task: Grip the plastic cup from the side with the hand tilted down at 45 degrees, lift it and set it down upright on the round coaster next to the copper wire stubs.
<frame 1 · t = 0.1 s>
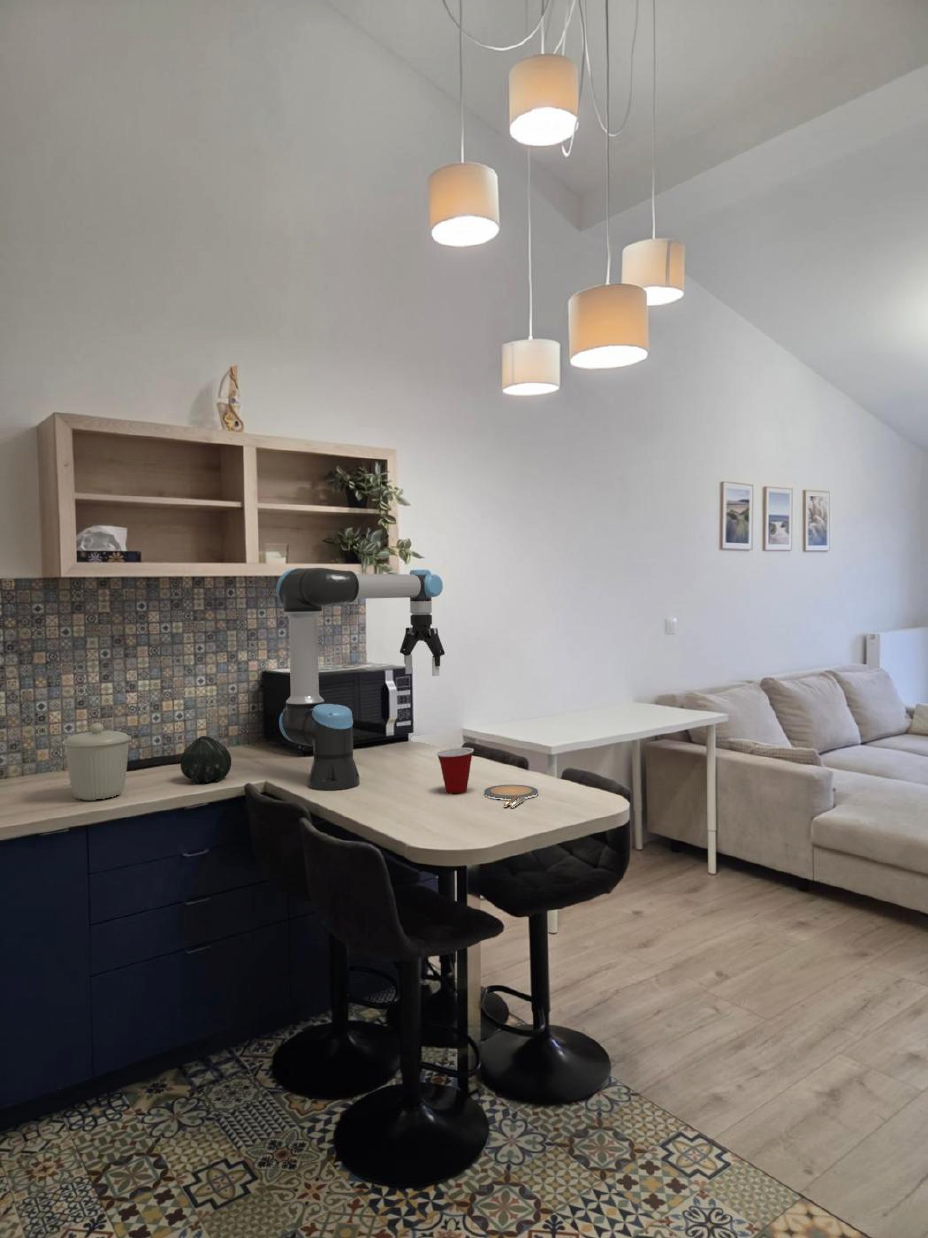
hand: (422, 674, 296), 28 cm above the kitchen counter, tool pointing down, fingers open, 13 cm apart
coaster: (511, 794, 237), on the kitchen counter
squash: (206, 781, 261), on the kitchen counter
plastic cup: (455, 792, 241), on the kitchen counter
canister: (98, 797, 242), on the kitchen counter
wire stubs: (514, 804, 226), on the kitchen counter
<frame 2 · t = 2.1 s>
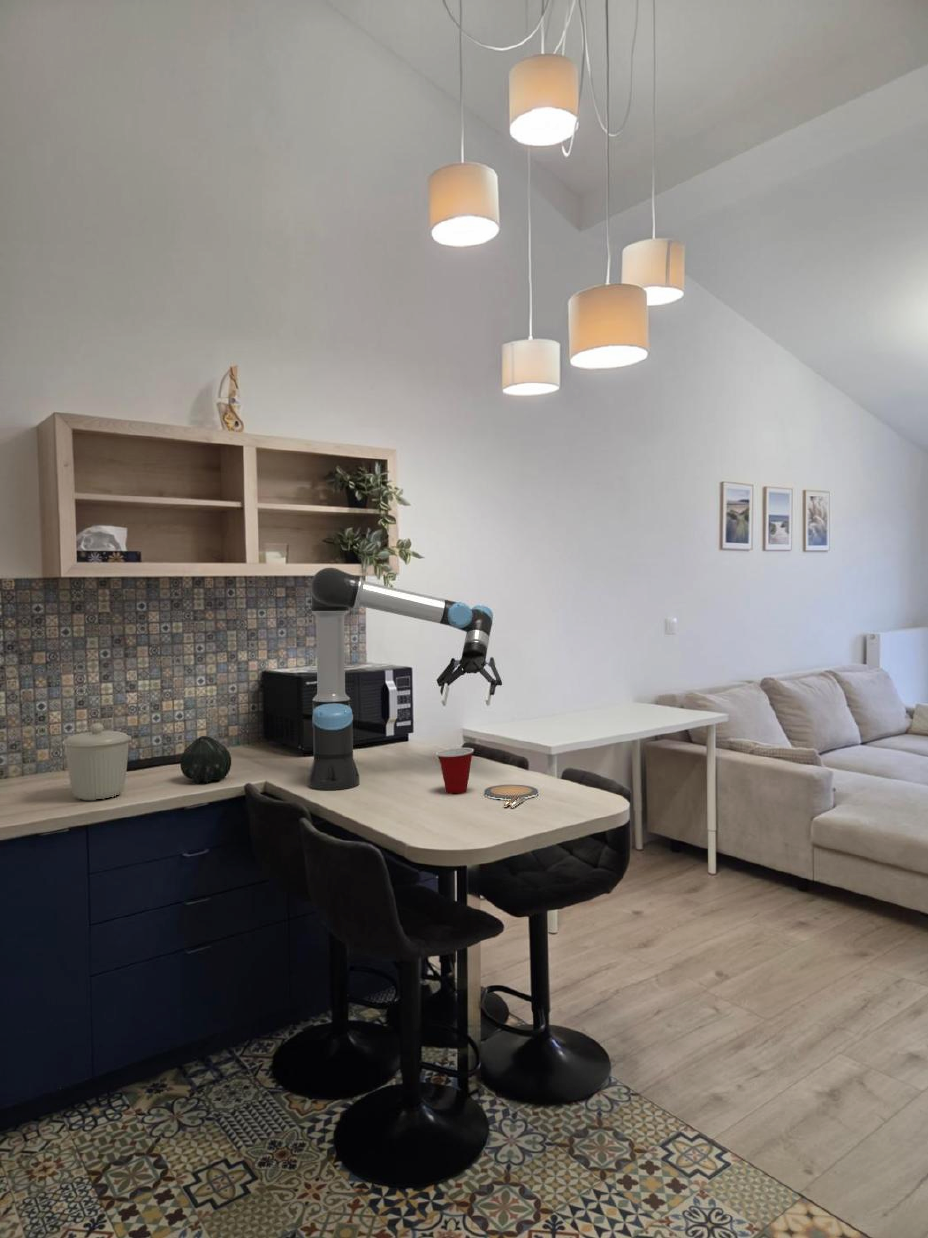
hand: (465, 703, 253), 24 cm above the kitchen counter, tool tilted 45°, fingers open, 13 cm apart
nothing on the kitchen counter moved.
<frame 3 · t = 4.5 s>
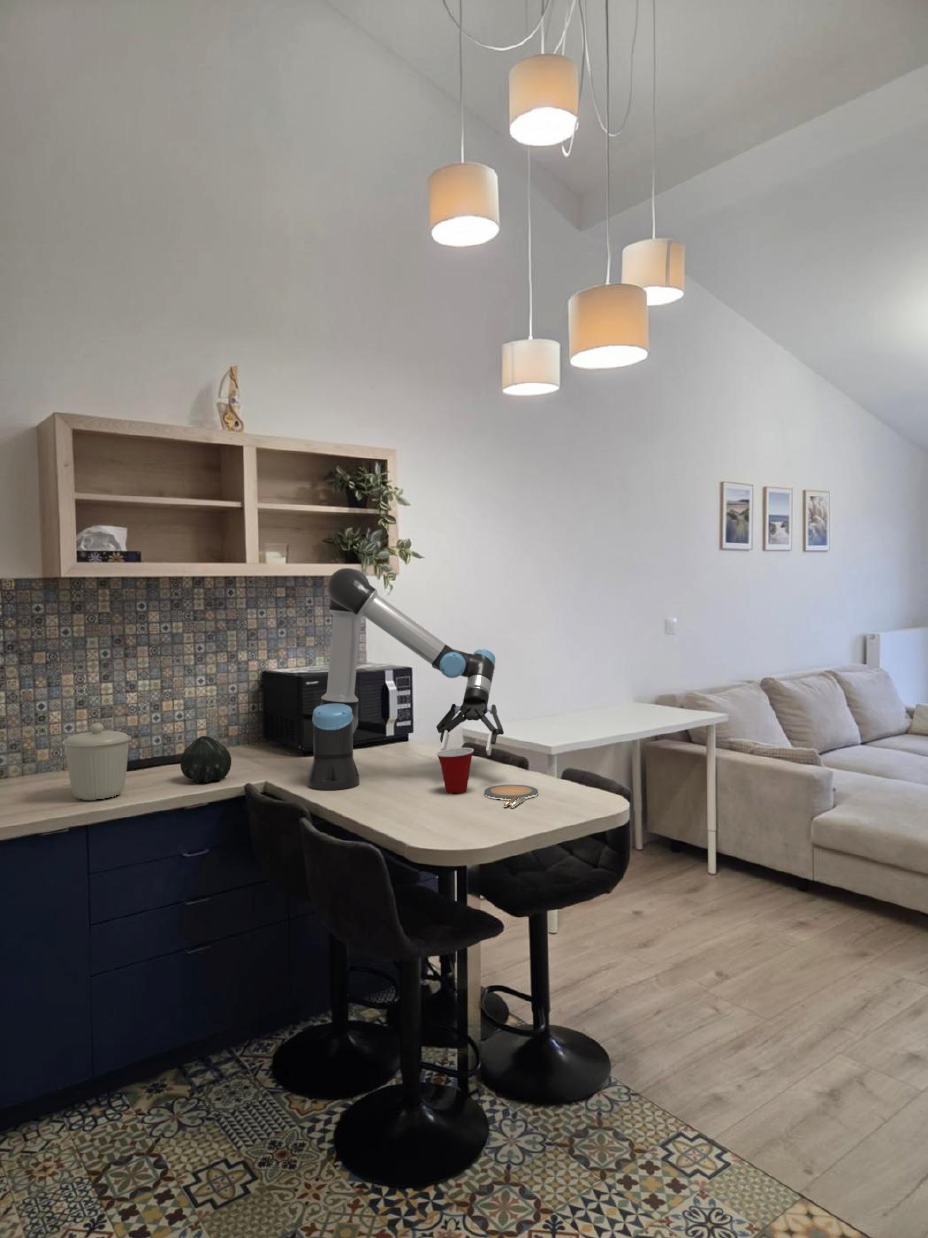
hand: (465, 752, 247), 10 cm above the kitchen counter, tool tilted 45°, fingers open, 13 cm apart
nothing on the kitchen counter moved.
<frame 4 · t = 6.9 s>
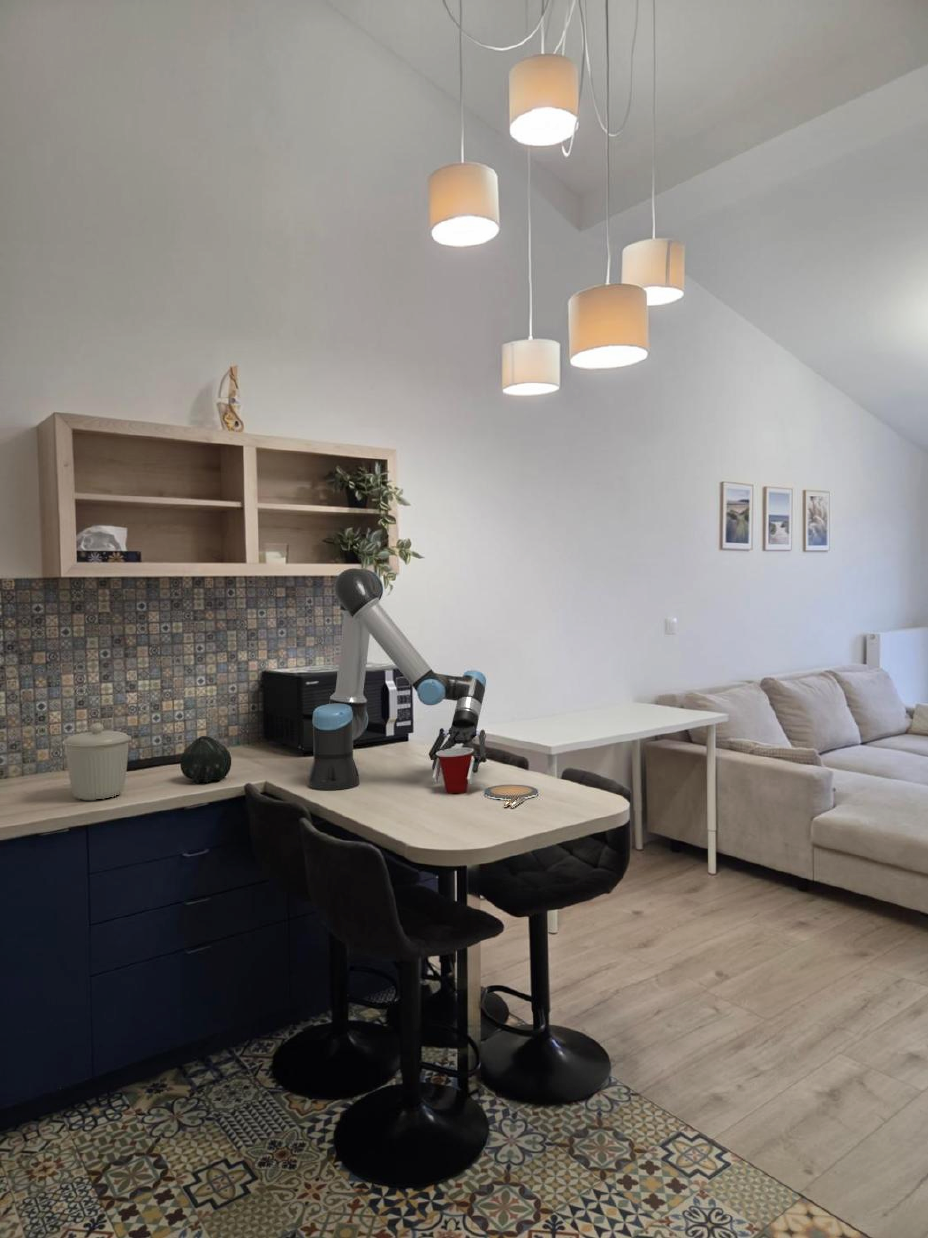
hand: (452, 780, 238), 4 cm above the kitchen counter, tool tilted 45°, fingers closed on plastic cup, 9 cm apart
plastic cup: (455, 792, 241), on the kitchen counter, touching gripper
everything else where it was.
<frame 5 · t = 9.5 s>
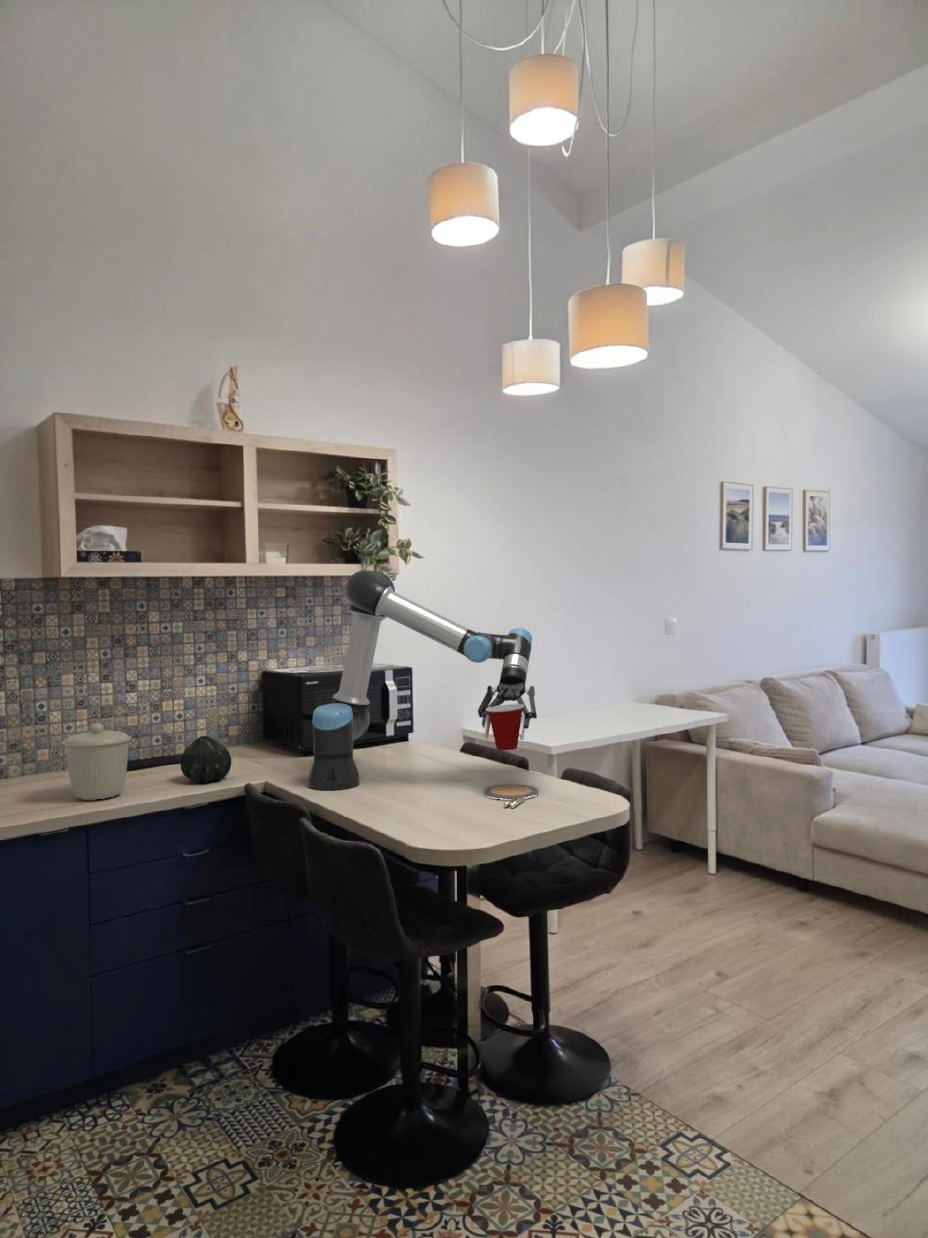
hand: (503, 736, 234), 17 cm above the kitchen counter, tool tilted 45°, fingers closed on plastic cup, 9 cm apart
plastic cup: (505, 749, 237), point 13 cm above the kitchen counter, touching gripper
everything else where it was.
when the fingers open (5 cm above the kitchen counter, at t = 12.2 s): plastic cup stays where it is, resting on coaster.
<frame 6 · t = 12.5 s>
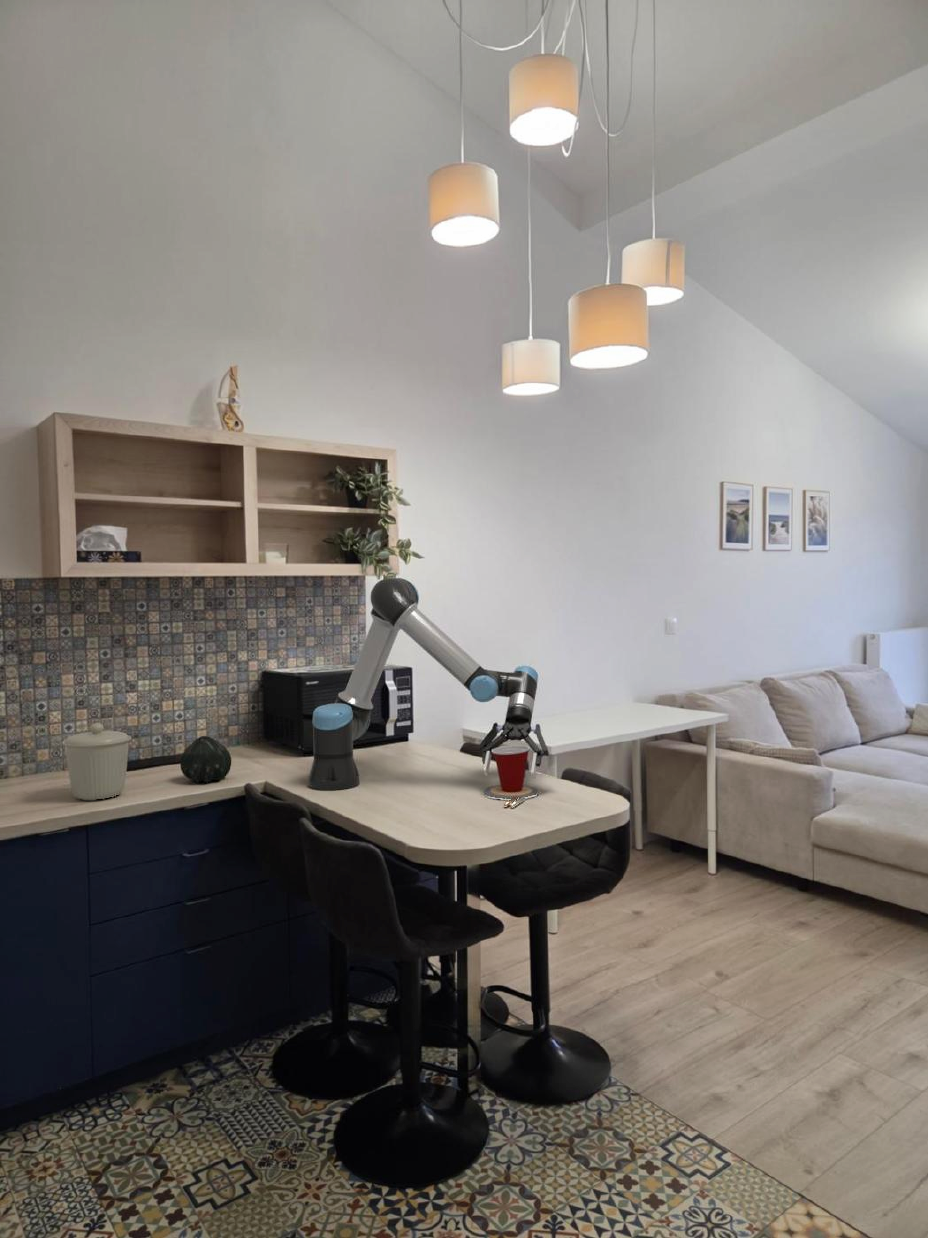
hand: (508, 774, 235), 6 cm above the kitchen counter, tool tilted 45°, fingers open, 13 cm apart
plastic cup: (511, 790, 237), point 1 cm above the kitchen counter, touching coaster
everything else where it was.
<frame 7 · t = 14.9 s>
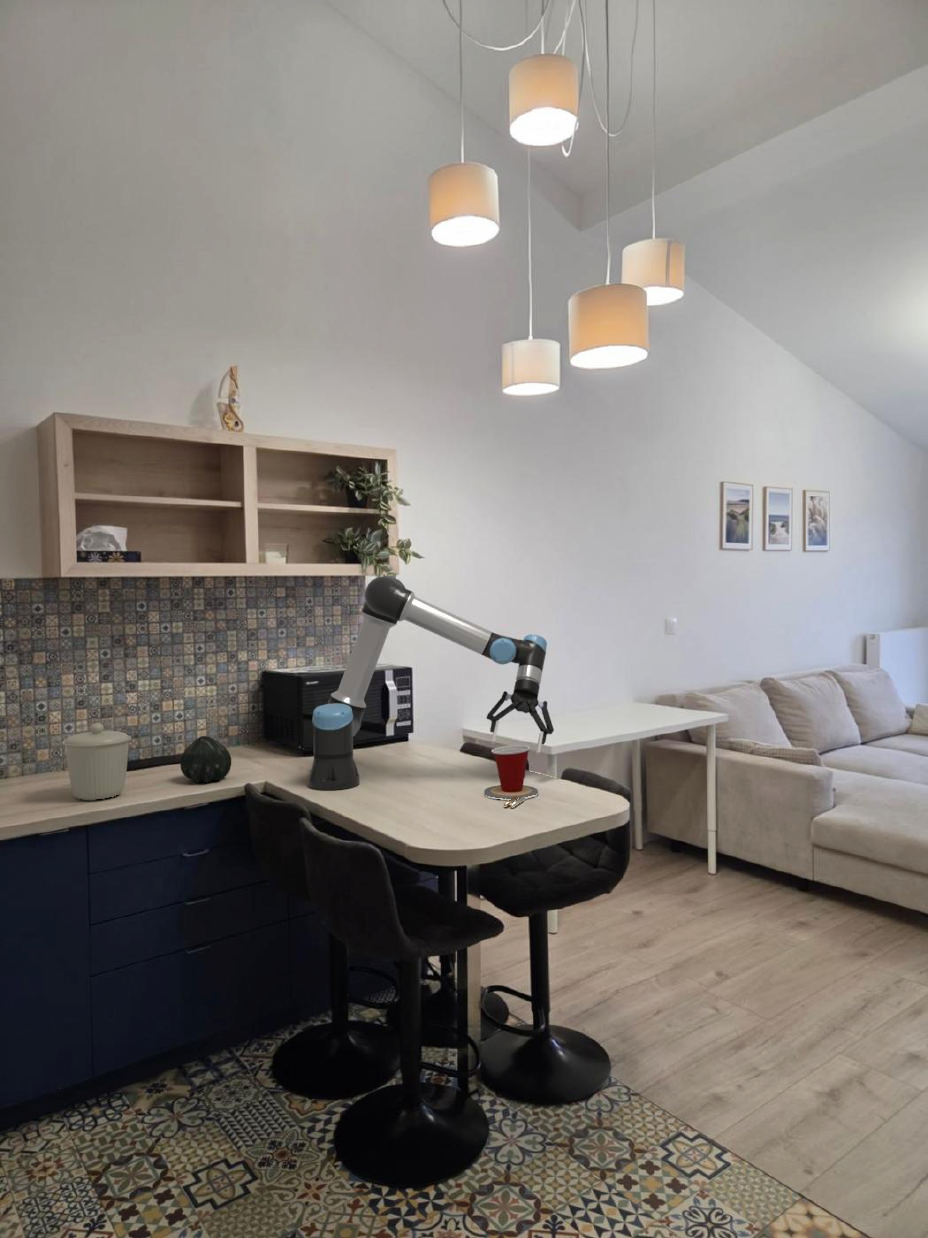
hand: (515, 748, 250), 11 cm above the kitchen counter, tool tilted 30°, fingers open, 13 cm apart
nothing on the kitchen counter moved.
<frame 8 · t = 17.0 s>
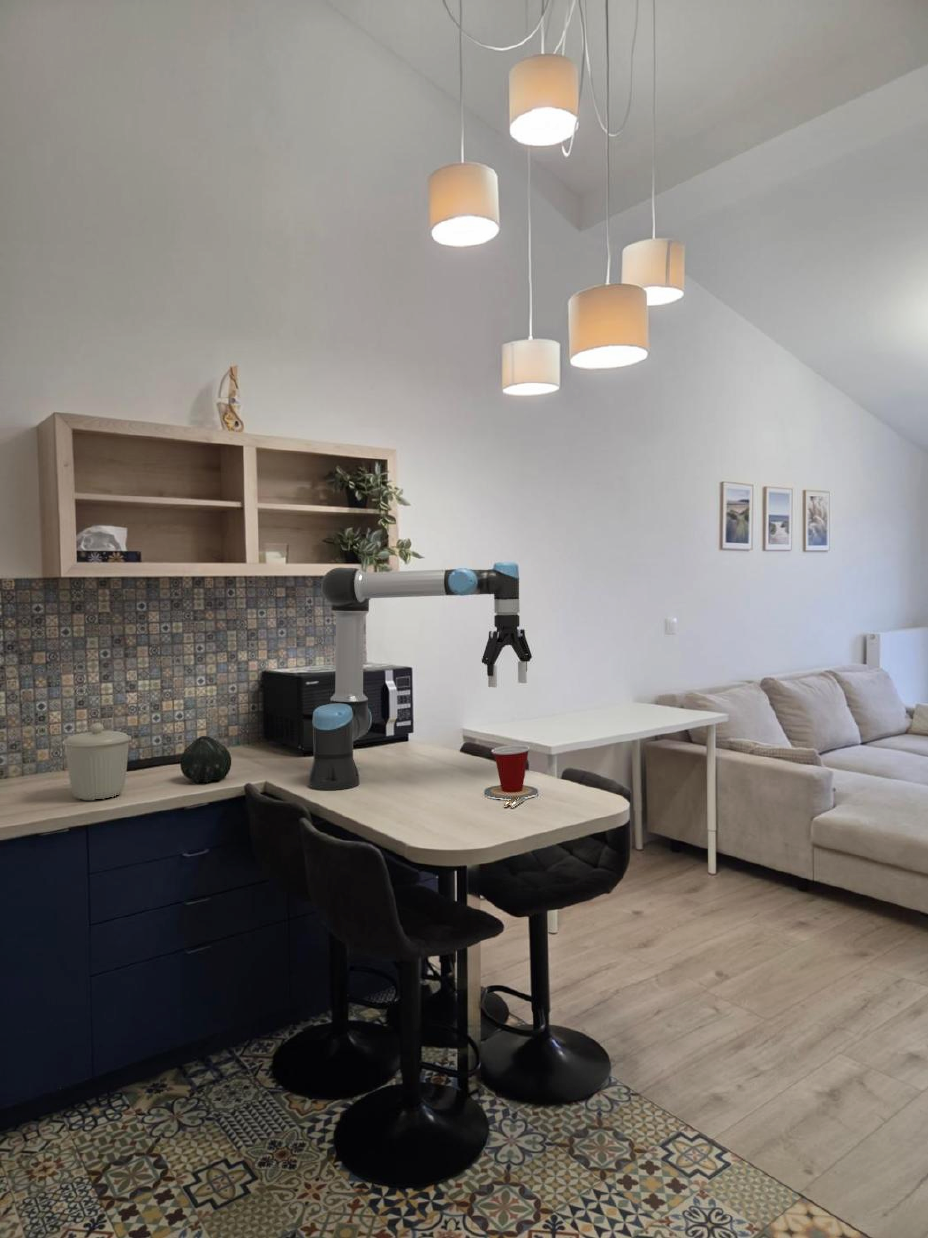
hand: (507, 685, 254), 29 cm above the kitchen counter, tool pointing down, fingers open, 13 cm apart
nothing on the kitchen counter moved.
at the end: plastic cup 0.1 cm from the coaster (horizontally); plastic cup tilted 0°; plastic cup point 1.0 cm above the kitchen counter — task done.
